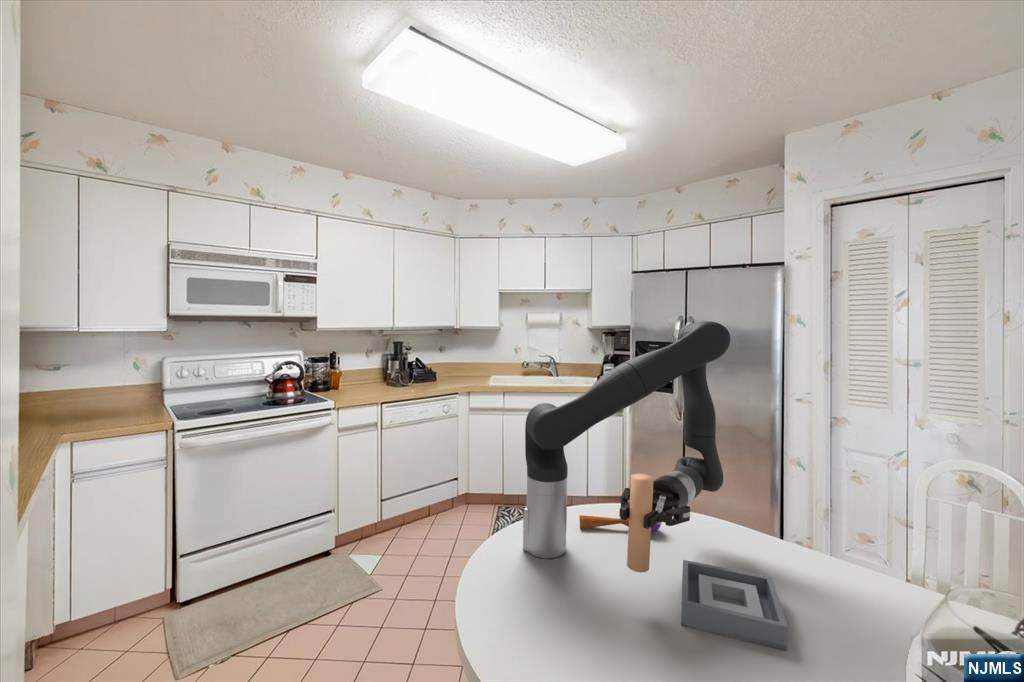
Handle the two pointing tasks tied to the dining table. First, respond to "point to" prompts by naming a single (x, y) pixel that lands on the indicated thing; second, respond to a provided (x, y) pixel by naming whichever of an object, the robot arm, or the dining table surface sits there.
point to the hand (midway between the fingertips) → (633, 518)
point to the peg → (639, 522)
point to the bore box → (732, 604)
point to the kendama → (606, 522)
